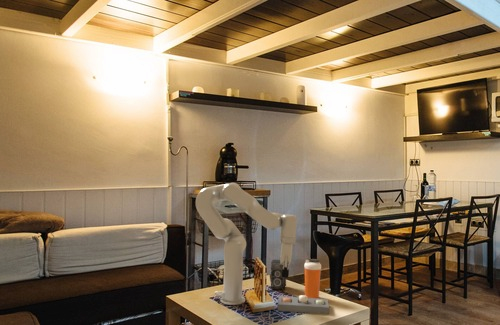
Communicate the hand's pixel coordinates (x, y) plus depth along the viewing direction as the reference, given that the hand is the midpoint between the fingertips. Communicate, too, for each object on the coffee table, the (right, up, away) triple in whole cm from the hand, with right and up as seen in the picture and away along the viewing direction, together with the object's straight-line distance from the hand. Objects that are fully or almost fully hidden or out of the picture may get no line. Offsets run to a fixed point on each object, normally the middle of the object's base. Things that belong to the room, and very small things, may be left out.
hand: (285, 277), depth 201 cm
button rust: (0, -13, -2) cm, 13 cm away
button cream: (+8, -12, -3) cm, 15 cm away
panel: (+8, -14, -3) cm, 17 cm away
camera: (-2, -14, +27) cm, 30 cm away
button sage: (+16, -14, -3) cm, 22 cm away
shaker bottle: (+15, -15, +13) cm, 25 cm away
